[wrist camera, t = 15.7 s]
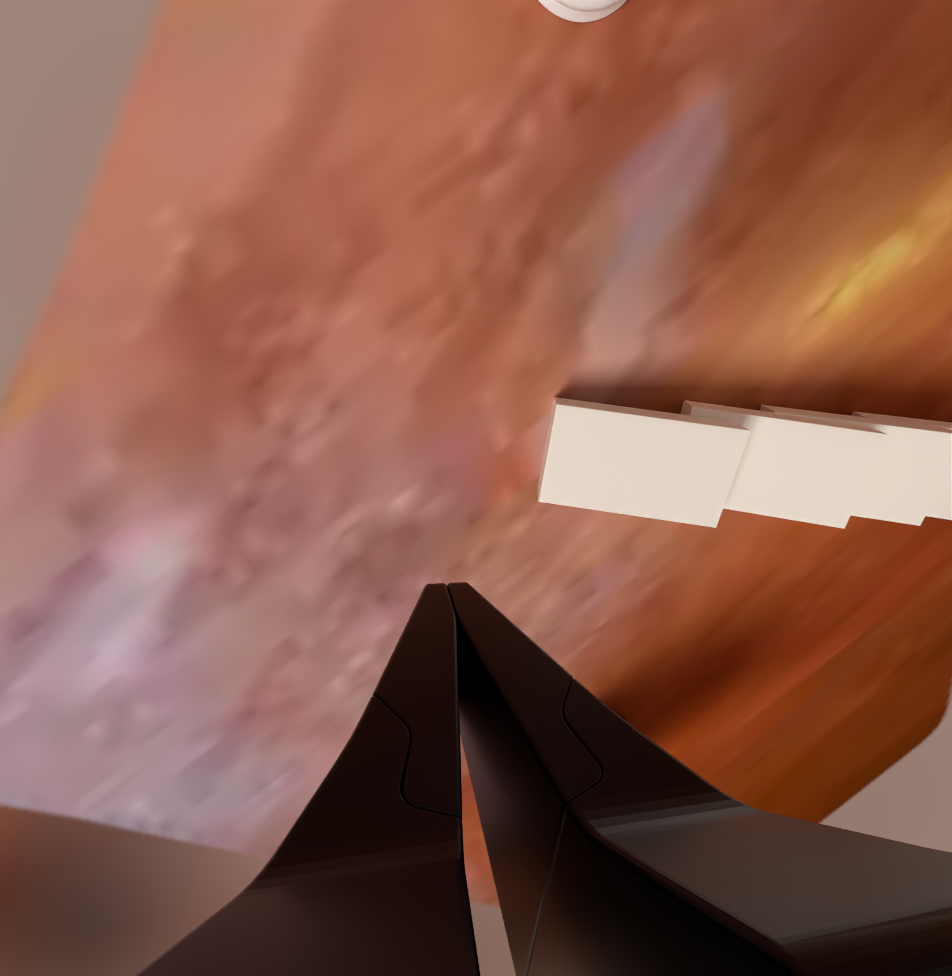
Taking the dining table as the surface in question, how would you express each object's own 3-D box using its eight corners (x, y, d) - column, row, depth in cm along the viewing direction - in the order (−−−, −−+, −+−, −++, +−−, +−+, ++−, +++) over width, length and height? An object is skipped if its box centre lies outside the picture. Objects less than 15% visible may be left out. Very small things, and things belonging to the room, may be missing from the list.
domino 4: (821, 490, 26) (997, 517, 24) (833, 501, 24) (1021, 531, 22) (852, 411, 24) (1045, 433, 22) (867, 417, 22) (1074, 442, 20)
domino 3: (733, 487, 24) (898, 512, 23) (743, 499, 23) (920, 525, 22) (761, 404, 23) (940, 426, 22) (774, 411, 21) (967, 435, 20)
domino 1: (537, 488, 22) (703, 512, 22) (538, 501, 21) (716, 527, 20) (554, 397, 21) (734, 421, 20) (556, 404, 19) (750, 430, 19)
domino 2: (659, 486, 24) (826, 514, 23) (665, 498, 22) (844, 528, 21) (683, 400, 22) (866, 425, 21) (692, 406, 20) (889, 434, 19)
